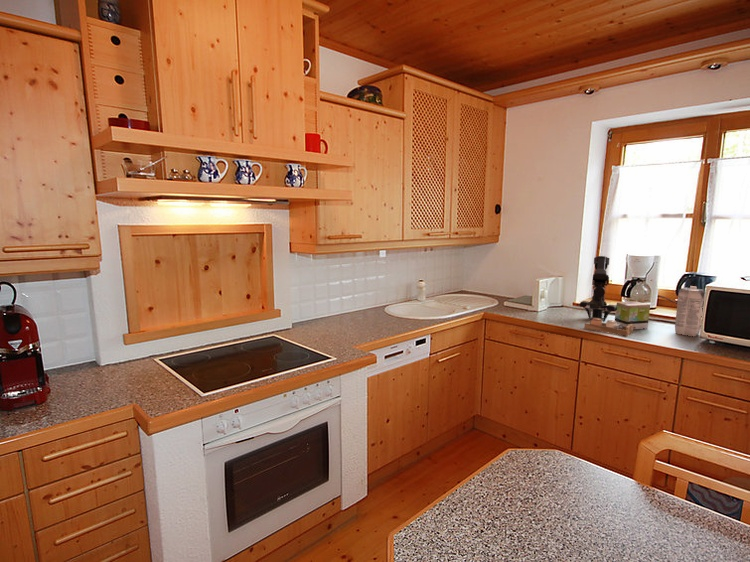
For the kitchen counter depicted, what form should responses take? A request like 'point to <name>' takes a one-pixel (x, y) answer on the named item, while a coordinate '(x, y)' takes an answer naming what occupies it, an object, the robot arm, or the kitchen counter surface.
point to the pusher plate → (619, 326)
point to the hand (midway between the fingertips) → (596, 320)
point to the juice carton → (689, 311)
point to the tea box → (632, 314)
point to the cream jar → (611, 324)
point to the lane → (610, 329)
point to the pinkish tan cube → (596, 321)
